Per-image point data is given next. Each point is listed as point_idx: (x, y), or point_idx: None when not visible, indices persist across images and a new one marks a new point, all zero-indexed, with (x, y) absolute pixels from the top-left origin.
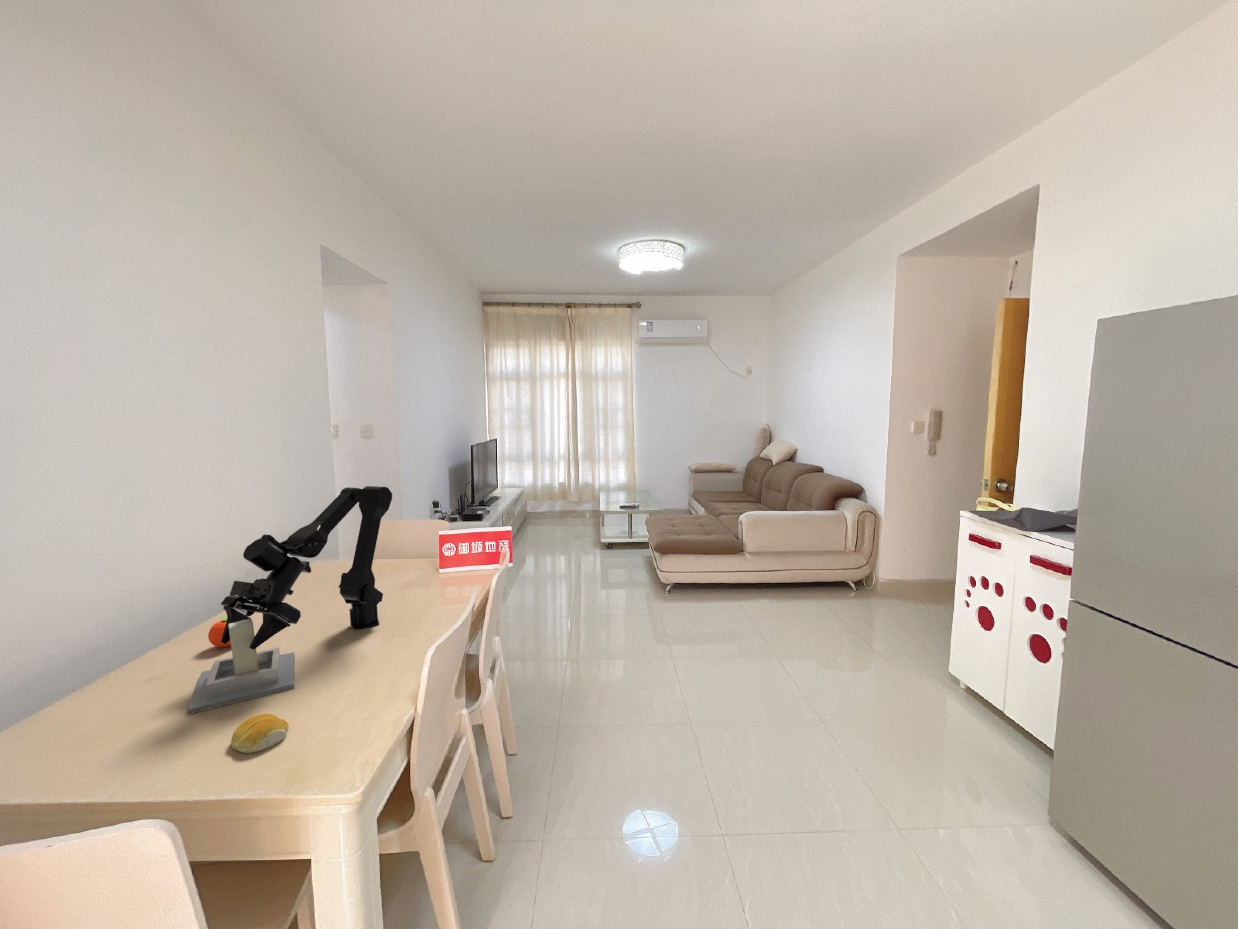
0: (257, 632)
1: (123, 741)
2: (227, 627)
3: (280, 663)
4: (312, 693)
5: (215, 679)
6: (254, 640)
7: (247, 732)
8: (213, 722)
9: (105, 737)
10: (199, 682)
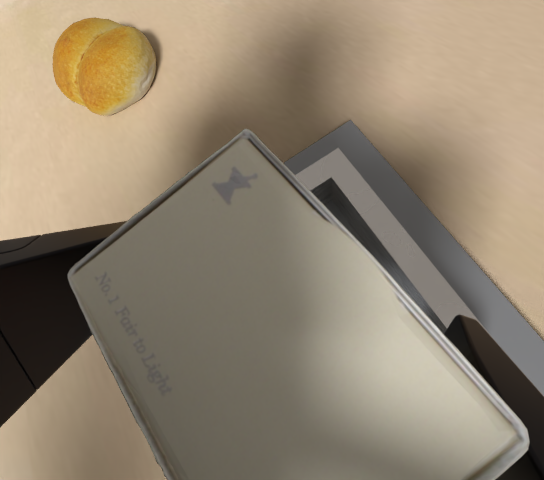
0: (71, 244)
1: (416, 22)
2: (534, 434)
3: None
4: None
5: (352, 209)
6: (122, 224)
7: (99, 23)
8: (249, 109)
9: (492, 23)
10: (487, 286)
